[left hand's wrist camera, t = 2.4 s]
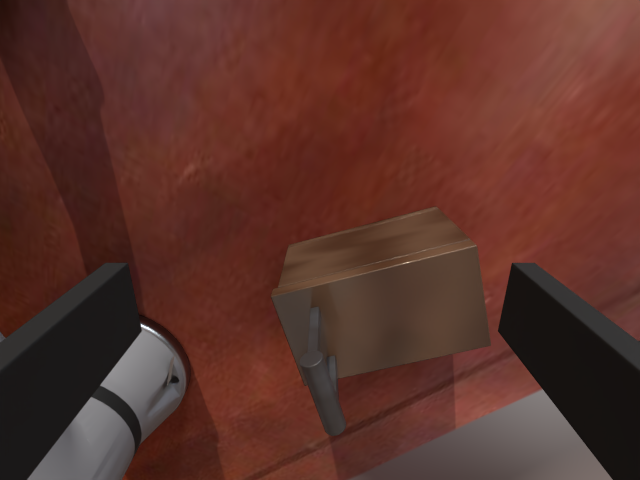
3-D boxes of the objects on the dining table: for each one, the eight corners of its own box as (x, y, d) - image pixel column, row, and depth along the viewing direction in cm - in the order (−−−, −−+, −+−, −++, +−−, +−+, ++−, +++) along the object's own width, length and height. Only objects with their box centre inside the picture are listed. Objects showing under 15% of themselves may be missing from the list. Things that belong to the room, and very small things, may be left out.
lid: (305, 376, 32) (299, 461, 25) (272, 288, 29) (253, 355, 21) (485, 336, 30) (538, 415, 23) (470, 239, 27) (527, 293, 20)
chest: (313, 317, 40) (310, 374, 32) (288, 244, 37) (277, 287, 29) (450, 284, 39) (485, 336, 30) (436, 205, 36) (470, 238, 27)
